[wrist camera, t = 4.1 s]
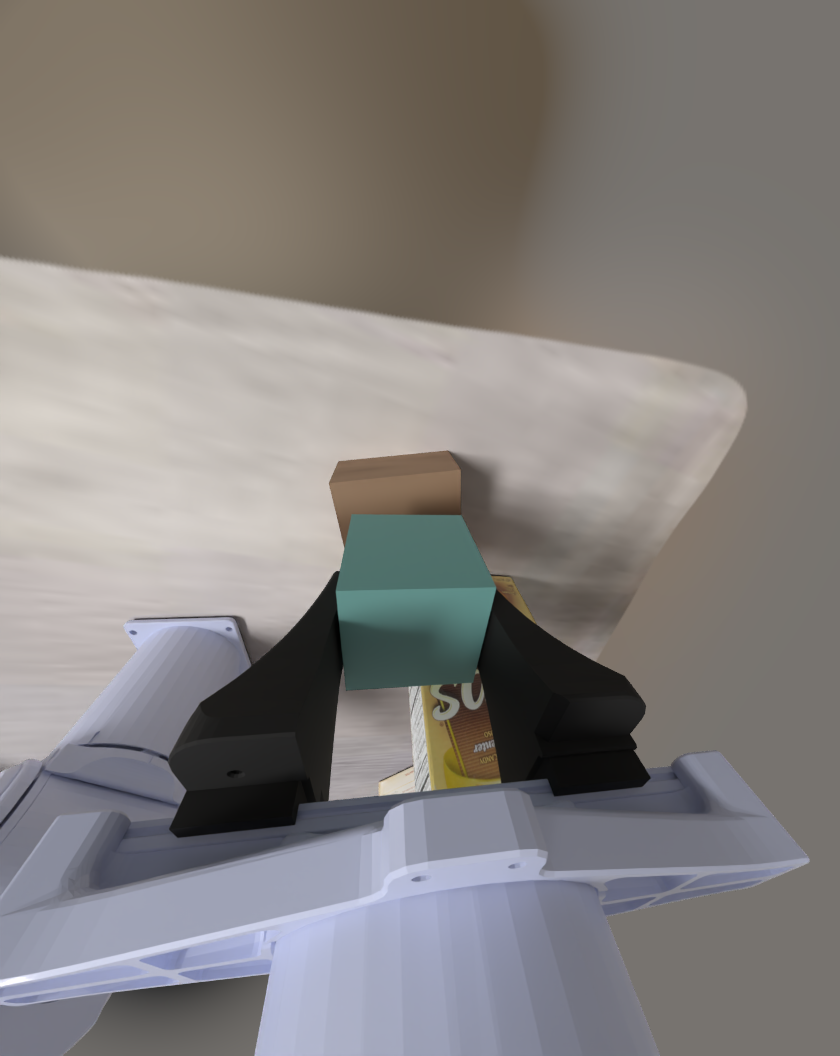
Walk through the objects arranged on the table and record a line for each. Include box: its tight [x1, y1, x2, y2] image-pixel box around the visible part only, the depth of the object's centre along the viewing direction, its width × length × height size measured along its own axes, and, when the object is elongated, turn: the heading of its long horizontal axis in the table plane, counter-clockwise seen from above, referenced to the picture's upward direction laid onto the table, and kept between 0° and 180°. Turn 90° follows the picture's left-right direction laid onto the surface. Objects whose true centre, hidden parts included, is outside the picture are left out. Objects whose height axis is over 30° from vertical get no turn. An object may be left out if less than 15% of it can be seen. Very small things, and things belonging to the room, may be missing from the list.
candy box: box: [409, 576, 537, 792], centre depth 19 cm, size 9×4×15 cm, turn 81°
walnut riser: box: [329, 451, 461, 548], centre depth 19 cm, size 7×7×4 cm
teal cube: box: [336, 514, 496, 691], centre depth 13 cm, size 5×5×5 cm
